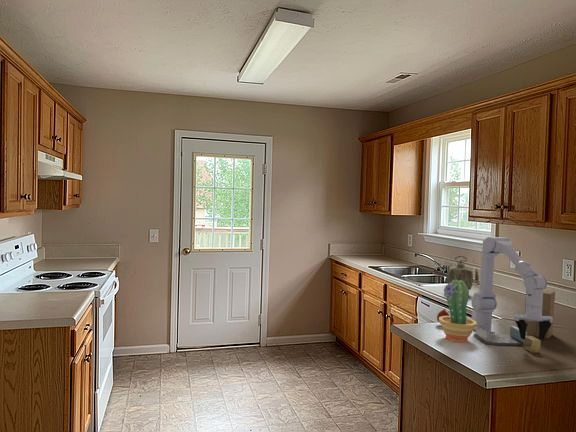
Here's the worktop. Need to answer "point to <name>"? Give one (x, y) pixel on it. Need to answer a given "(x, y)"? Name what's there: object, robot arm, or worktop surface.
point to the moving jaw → (516, 333)
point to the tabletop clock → (460, 273)
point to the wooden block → (543, 314)
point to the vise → (495, 337)
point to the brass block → (532, 344)
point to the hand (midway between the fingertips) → (532, 339)
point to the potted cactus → (457, 313)
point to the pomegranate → (442, 314)
